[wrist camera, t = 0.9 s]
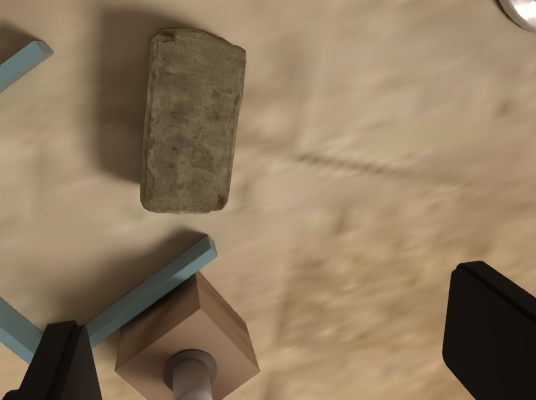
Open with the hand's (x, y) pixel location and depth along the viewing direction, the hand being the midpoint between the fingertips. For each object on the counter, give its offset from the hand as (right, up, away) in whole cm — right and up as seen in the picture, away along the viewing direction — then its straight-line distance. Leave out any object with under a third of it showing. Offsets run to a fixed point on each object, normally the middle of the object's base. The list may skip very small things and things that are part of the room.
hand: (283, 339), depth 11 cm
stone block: (-6, +9, +20) cm, 23 cm away
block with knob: (-7, -6, +25) cm, 26 cm away
